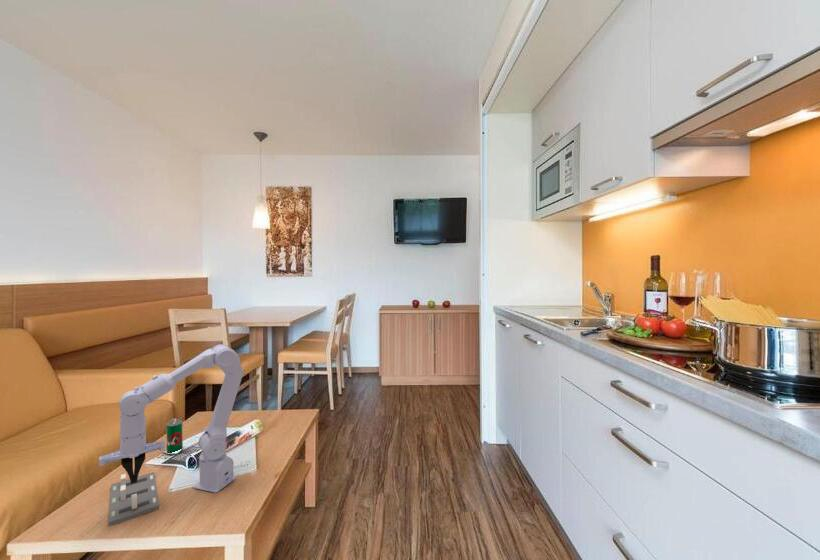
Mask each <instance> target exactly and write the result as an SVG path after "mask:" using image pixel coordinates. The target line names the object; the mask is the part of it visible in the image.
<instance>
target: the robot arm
mask: <svg viewBox="0 0 820 560" xmlns="http://www.w3.org/2000/svg"><path fill="white" fill-rule="evenodd" d="M215 365H216V366H217V367H218V368H220V370H221V371H222V373H223V374H224V375H225V376H224V377H223V381H222V384H221V388H220V390H219V395H218V397H217V400H216V402H215V406H214V408H213V409H214V410H213V412H212V416H211V419H210V422H209V424H208V425H206V427H205V430H204V432H203V433H202V434H201V436H200V437H199V438H198V447H199V449H200V450H201V452H200V455H199V456H198V458H199V460H198V461H199V462H198V463H199V482H197V483H195V484H194V485H193V486H192V489H196V490H202V491H207V492H211V493H218V492H219V491H221V490H222V489H223V488H225V487H226V486H228V485H229V484H230V483H232V482H233V481H235V480H236V476H235V475H234V460H233V458H232V457H230V456H228V455H227V453H226V451H227V444H226V442H227V441H226V440H227V437H228V432H227V427H228V422H229V420H230V417H231V413H232V410H233V407H234V404H235V401H236V397H237V395H238V391H239V388H240V385H241V383H242V382H241V381H242V379H243V374H244V370H243V367H242V364H241V360H240V356H239V354H238V353H237V352H236V351H235V350H234V349H233V348H231V347H229V346H227V345H226V344H223V343H221V344H219V343H218V344H216V345H214V346H212V347H211V348H208V349H205V350H204V351H203V352H201V353H199V354H198V355H196V356H195V357H194V358H192V359H190V360H189V361H187V362H186V363H184V364H182V365H181V366H179V367H178V368H176V369H175V370H173V371H172V372H171V373H160V374H159V375H157V374H155V375H152V379H149V381H147V382H145V383H144V384H142V385H139V386H138V385H137V386H135V387H134V388H133V390H129V391H127V392H125V393H123V394H122V395H121V397H120V398H119V402H118V405H119V411H120V415H119V417H120V418H119V420H120V421H119V443H120V444H119V450H115V451H114V452H110V453H108V454H104V455H101V456H99V457H98V458H99V459H98V465H99V467H102V466H105V465H106V464H110V463H114V462H118V461H120V463H121V466H122V468H123V469H124V470H125V472H126V474H127V475H128V477H129V479H130V481H131V484H132V483H136V482H137V478H138V476H139V474H140V471H141V468H142V466H143V464H144V462H145V460H146V454H149V453H152V452H155V451H163V450H165V449H166V445H165V443H166V441H165V440H160V441H153V442H148V443H147V434H146V433H147V431H146V425H147V424H146V423H147V422H146V414H145V409H146V408H147V405H149V404H152V403H153V402H154V401H157V400H158V399H159V398H161V397H163V396H165V395H166V394H167V393H169V392H171V391H172V390H173V391H174V388H175V386H176V384H177V383H178V382H180V381H182V380H183V379H186V378H187V377H189V376H191V375H192V374H195V373H196V372H197V371H199V370H201V369H207V368H208V369H215ZM133 459H134V460H133ZM133 461H134V462H133Z"/></svg>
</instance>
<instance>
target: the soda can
mask: <svg viewBox="0 0 820 560" xmlns="http://www.w3.org/2000/svg"><path fill="white" fill-rule="evenodd" d="M166 422H167V423H166V425H165V428H166V429H165V432H166V434H165V435H166V440H165V442H166V454H167V453H172V452H175V451H178V450H180V449H182V448H183V449H184V446H183V444H184V441H183V437H184V436H183V421H182V419H181V418H172V419H170V420H168V421H166Z"/></svg>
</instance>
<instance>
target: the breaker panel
mask: <svg viewBox="0 0 820 560" xmlns="http://www.w3.org/2000/svg"><path fill="white" fill-rule="evenodd" d="M126 476H127V473H123V474H120V481H118V482H115V483H111V485H110V494H109V495H110V496H109V497H110V498H109V508H108V509H109V510H108V524H107V526H108V527H110V526H113V525H116V524H118V523H121V522H125V521H127V520H131V519H133V518H136V517H139V516H142V515H145V514H147V513H151V512H153V511H156V510H159V509H160V504H159V503H160V502H159V497H158V488H157V481H156V475H155V471H153V472H152V471H151V472H149V473H145V474H142V475H138V478H137V482H136V483H132V484H131V481H130V478H129V479H127V477H126ZM136 493H137V508H135V509H132V497H131V495H133V494H136Z"/></svg>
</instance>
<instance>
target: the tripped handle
mask: <svg viewBox="0 0 820 560" xmlns="http://www.w3.org/2000/svg"><path fill="white" fill-rule="evenodd" d="M131 497H132V509H135V508H137V493H136V494H133V495H131Z"/></svg>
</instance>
